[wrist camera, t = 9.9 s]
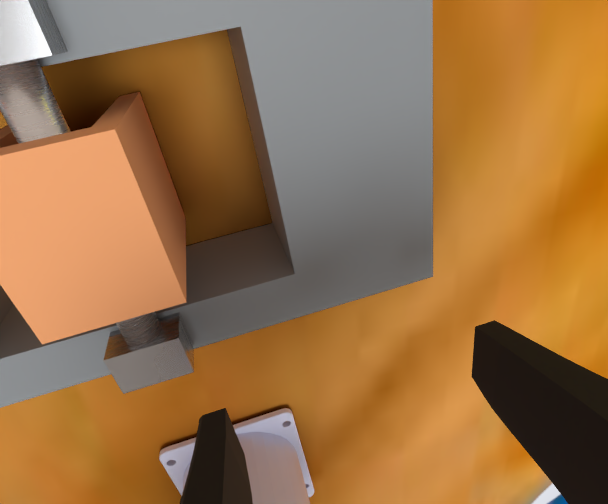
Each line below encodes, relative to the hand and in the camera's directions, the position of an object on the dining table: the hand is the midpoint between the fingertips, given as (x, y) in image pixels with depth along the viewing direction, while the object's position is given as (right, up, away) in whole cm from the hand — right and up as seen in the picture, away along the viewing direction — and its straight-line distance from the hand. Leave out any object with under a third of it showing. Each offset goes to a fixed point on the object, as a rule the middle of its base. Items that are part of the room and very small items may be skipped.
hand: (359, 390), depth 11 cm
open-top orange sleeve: (-9, +7, +4) cm, 12 cm away
